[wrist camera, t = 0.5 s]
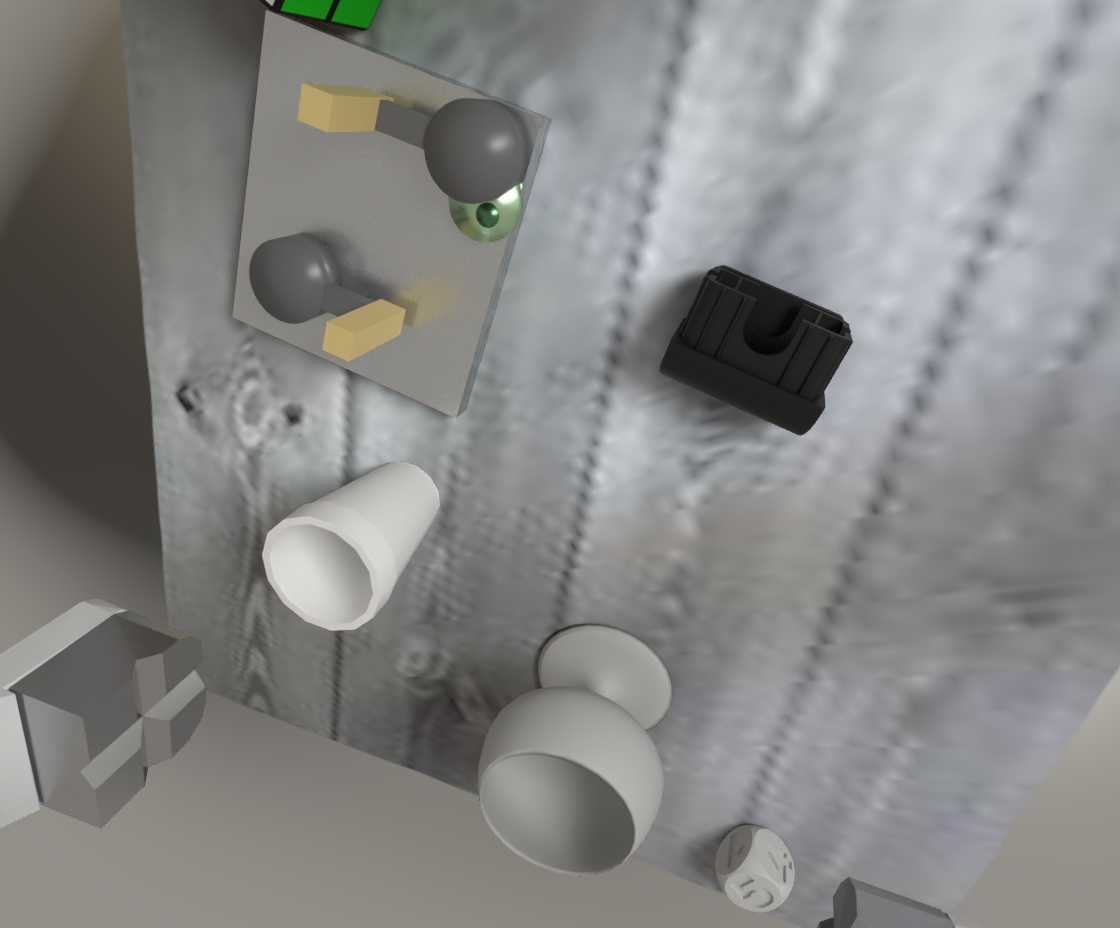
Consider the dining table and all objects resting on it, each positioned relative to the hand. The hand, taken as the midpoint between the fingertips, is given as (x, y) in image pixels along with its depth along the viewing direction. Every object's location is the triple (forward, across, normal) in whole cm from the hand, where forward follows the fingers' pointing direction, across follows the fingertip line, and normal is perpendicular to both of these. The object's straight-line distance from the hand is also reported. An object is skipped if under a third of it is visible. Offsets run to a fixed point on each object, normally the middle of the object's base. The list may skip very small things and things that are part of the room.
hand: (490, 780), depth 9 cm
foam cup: (+45, +22, +26) cm, 57 cm away
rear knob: (+43, +28, +9) cm, 52 cm away
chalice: (+45, +2, +38) cm, 59 cm away
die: (+46, -15, +51) cm, 70 cm away
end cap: (+45, -2, +5) cm, 46 cm away
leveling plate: (+45, +26, +4) cm, 52 cm away
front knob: (+42, +20, -3) cm, 47 cm away
